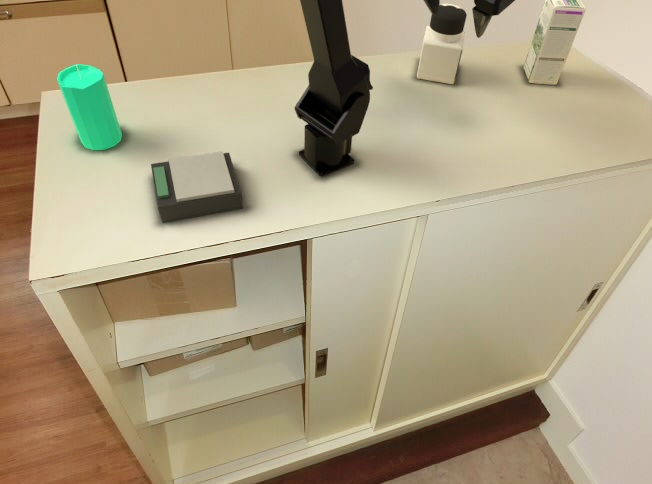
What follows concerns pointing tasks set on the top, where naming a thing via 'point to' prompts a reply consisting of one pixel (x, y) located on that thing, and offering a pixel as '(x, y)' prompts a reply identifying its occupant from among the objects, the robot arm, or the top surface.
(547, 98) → the top surface
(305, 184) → the top surface
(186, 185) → the scale
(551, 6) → the syrup box
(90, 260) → the top surface
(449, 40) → the medicine bottle
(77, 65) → the candle
